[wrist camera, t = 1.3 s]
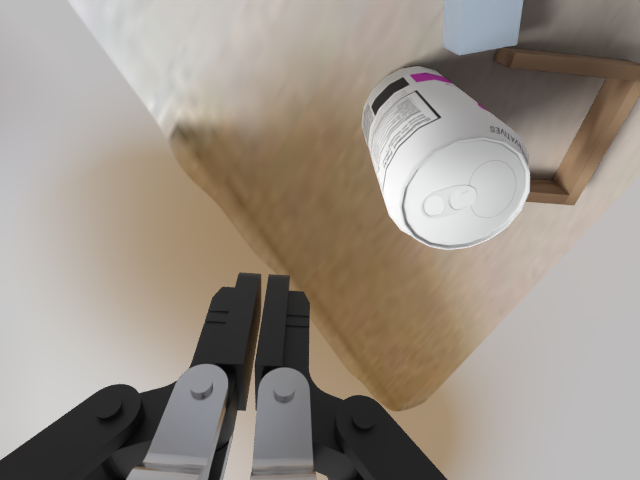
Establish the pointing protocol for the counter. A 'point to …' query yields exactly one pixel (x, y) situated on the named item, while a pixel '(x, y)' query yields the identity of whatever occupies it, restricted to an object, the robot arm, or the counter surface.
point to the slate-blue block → (480, 25)
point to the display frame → (598, 125)
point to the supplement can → (443, 160)
